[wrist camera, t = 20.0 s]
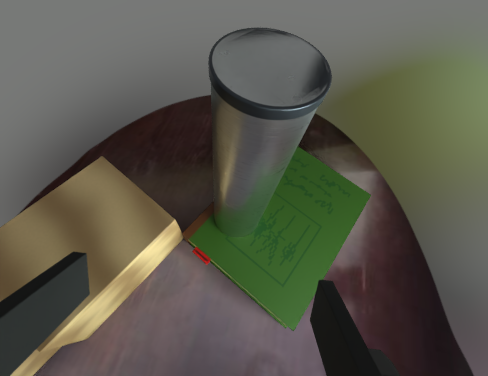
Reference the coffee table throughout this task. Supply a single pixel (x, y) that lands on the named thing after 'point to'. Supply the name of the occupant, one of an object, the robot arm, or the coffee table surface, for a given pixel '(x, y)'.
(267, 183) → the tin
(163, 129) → the coffee table surface
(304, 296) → the book
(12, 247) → the cabinet
